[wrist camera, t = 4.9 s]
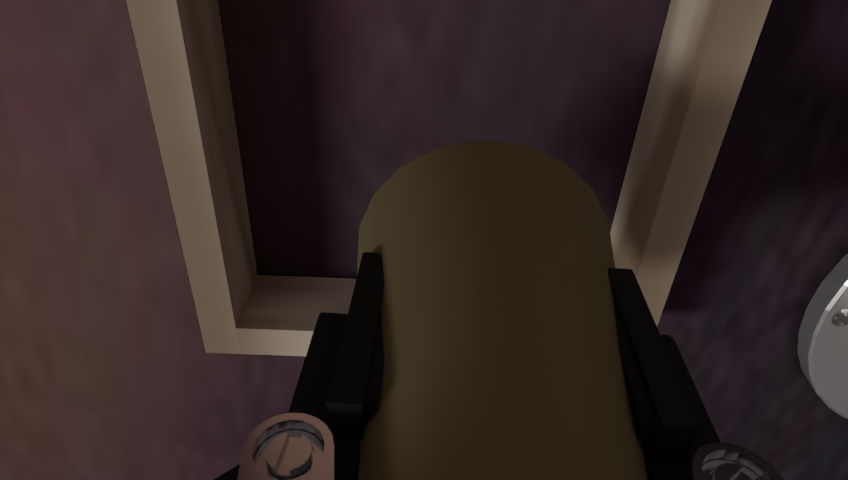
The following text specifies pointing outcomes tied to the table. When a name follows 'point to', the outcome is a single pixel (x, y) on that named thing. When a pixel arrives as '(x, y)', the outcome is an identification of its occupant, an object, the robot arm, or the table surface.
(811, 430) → the table surface
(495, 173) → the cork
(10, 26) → the table surface
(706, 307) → the table surface
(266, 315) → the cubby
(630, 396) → the robot arm
